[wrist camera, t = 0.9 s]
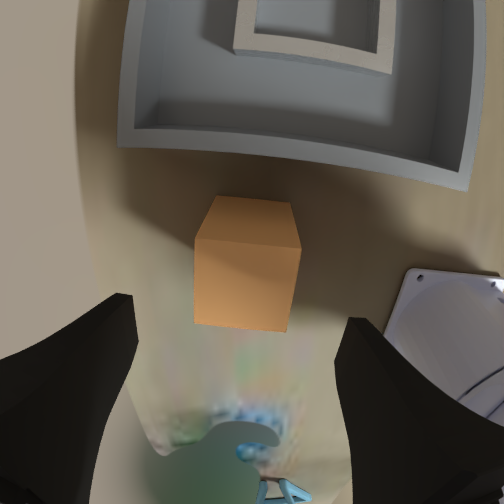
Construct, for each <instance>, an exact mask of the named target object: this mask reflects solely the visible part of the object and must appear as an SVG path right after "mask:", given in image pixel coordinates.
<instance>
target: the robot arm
mask: <svg viewBox="0 0 504 504" xmlns="http://www.w3.org/2000/svg"><path fill="white" fill-rule="evenodd" d="M419 275H421V277H420V278H419V279H417V277H418V276H419ZM492 282H493V283H492ZM491 283H492V284H491ZM503 289H504V278H502V277H496V276H486V275H476V274H467V273H457V272H447V271H437V270H428V269H418V268H412V269H410V270H408V271H407V273H406V275H405V278H404V281H403V284H402V287H401V289H400V292H399V295H398V298H397V301H396V303H395V306H394V309H393V312H392V314H391V317H390V319H389V322H388V325H387V327H386V330H385V332H384V335H382V334H381V333H380V332H379V331H378V330H377V329H376V328H375V327H374V326H373V325H372V324H371V323H370V322H369V321H368V320H367V319H366V318H354V317H349V319H348V322H347V325H346V328H345V331H344V334H343V337H342V340H341V343H340V346H339V349H338V352H337V355H336V358H335V360H334V365H335V377H336V386H337V391H338V395H339V400H340V404H341V409H342V413H343V417H344V422H345V426H346V431H347V435H348V440H349V446H350V454H351V466H352V484H353V504H504V294H503V293H502V291H503ZM138 342H139V340H138V334H137V327H136V320H135V312H134V304H133V296H132V295H127V294H120V293H115V294H114V295H112V296H110V297H109V298H107V299H106V300H104V301H103V302H101V303H100V304H98V305H97V306H95V307H94V308H93V309H91V310H90V311H88V312H87V313H85V314H84V315H82V316H81V317H79V318H78V319H76V320H75V321H73V322H72V323H71V324H69V325H67V326H65V327H64V328H62V329H61V330H59V331H57V332H56V333H54V334H53V335H51V336H49V337H48V338H46V339H44V340H42V341H40V342H39V343H37V344H35V345H33V346H31V347H29V348H27V349H25V350H22V351H20V352H18V353H15V354H13V355H10V356H8V357H5V358H3V359H1V360H0V504H89V497H90V490H91V484H92V479H93V472H94V468H95V463H96V459H97V455H98V451H99V446H100V442H101V439H102V436H103V432H104V429H105V425H106V422H107V420H108V417H109V415H110V412H111V410H112V408H113V405H114V403H115V401H116V399H117V396H118V394H119V392H120V390H121V388H122V385H123V383H124V381H125V379H126V377H127V374H128V372H129V370H130V368H131V365H132V362H133V359H134V356H135V352H136V349H137V345H138Z"/></svg>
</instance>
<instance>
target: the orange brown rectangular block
mask: <svg viewBox="0 0 504 504" xmlns="http://www.w3.org/2000/svg"><path fill="white" fill-rule="evenodd" d="M301 251H302V248H301V244H300V240H299V236H298V232H297V228H296V224H295V220H294V216H293V212H292V208H291V205H290V203H288V202H279V201H270V200H261V199H251V198H241V197H231V196H220V195H216V197H215V199H214V201H213V203H212V205H211V207H210V209H209V211H208V213H207V215H206V217H205V219H204V221H203V223H202V225H201V227H200V229H199V231H198V233H197V235H196V237H195V253H194V323H197V324H206V325H214V326H223V327H232V328H242V329H252V330H263V331H275V332H286V330H287V325H288V320H289V315H290V310H291V305H292V300H293V295H294V289H295V284H296V279H297V273H298V268H299V262H300V257H301Z"/></svg>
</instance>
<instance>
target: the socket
mask: <svg viewBox="0 0 504 504" xmlns="http://www.w3.org/2000/svg"><path fill="white" fill-rule="evenodd" d="M259 1H260V0H239V1H238V9H237V17H236V26H235V34H234V43H233V50H234V52H235V54H236V56H246V57H258V58H268V59H278V60H286V61H294V62H301V63H307V64H314V65H320V66H325V67H331V68H336V69H341V70H346V71H351V72H355V73H360V74H364V75H368V76H373V77H377V78H378V77H382V76H387V75H391V74H392V64H393V52H394V39H395V22H396V0H368V10H367V26H366V39H365V51H362V50H358V49H354V48H349V47H345V46H340V45H335V44H330V43H324V42H319V41H313V40H307V39H300V38H293V37H285V36H276V35H267V34H256V28H257V19H258V10H259Z"/></svg>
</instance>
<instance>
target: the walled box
mask: <svg viewBox="0 0 504 504" xmlns="http://www.w3.org/2000/svg"><path fill="white" fill-rule="evenodd" d="M238 1H239V0H130V1H129V7H128V13H127V20H126V27H125V34H124V42H123V51H122V60H121V71H120V83H119V98H118V118H117V148H166V149H187V150H204V151H219V152H231V153H243V154H253V155H263V156H272V157H281V158H289V159H297V160H305V161H312V162H319V163H326V164H332V165H339V166H345V167H351V168H357V169H363V170H368V171H374V172H379V173H384V174H389V175H394V176H399V177H404V178H409V179H414V180H418V181H423V182H427V183H431V184H436V185H440V186H444V187H448V188H452V189H456V190H460V191H464V192H467V190H468V186H469V182H470V177H471V173H472V168H473V163H474V158H475V152H476V147H477V141H478V135H479V128H480V121H481V114H482V105H483V96H484V84H485V70H486V5H485V0H396V22H395V39H394V52H393V64H392V74H391V75H387V76H382V77H378V78H377V77H373V76H368V75H364V74H360V73H355V72H351V71H346V70H341V69H336V68H331V67H325V66H320V65H314V64H307V63H301V62H294V61H286V60H278V59H268V58H258V57H246V56H236V54H235V52H234V50H233V43H234V34H235V26H236V17H237V9H238ZM367 10H368V0H260V1H259V10H258V19H257V28H256V34H267V35H276V36H285V37H293V38H300V39H307V40H313V41H319V42H324V43H330V44H335V45H340V46H345V47H349V48H354V49H358V50H362V51H365V39H366V26H367Z"/></svg>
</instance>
